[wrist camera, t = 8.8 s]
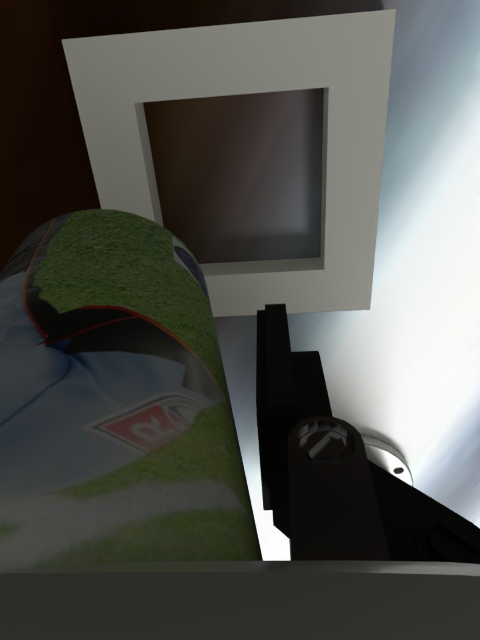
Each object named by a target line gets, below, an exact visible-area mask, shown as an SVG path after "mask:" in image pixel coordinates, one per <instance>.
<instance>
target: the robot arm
mask: <svg viewBox="0 0 480 640" xmlns="http://www.w3.org/2000/svg"><path fill="white" fill-rule="evenodd" d="M256 408H257V426H258V440H259V454H260V467H261V481H262V495H263V509H264V510H273V525H274V526H275V527H276V528H278V529H279V530H280V531H281V532H282V533H283V534H284V535H286V536H287V537H288V538H289V543H290V557H291V561H138V562H109V563H99V564H89V565H76V566H63V567H50V568H38V569H23V570H6V571H0V640H480V528H478V527H477V526H476V525H474V524H473V523H472V522H470V521H468V520H467V519H465V518H463V517H462V516H460V515H458V514H457V513H455V512H454V511H452V510H450V509H449V508H447V507H445V506H444V505H442V504H440V503H439V502H437V501H435V500H434V499H432V498H431V497H429V496H427V495H426V494H424V493H422V492H421V491H419V490H417V489H416V488H414V487H413V479H412V475H411V472H410V469H409V467H408V465H407V462H406V460H405V459H404V458H403V457H402V455H401V454H400V453H399V452H398V451H397V450H395V449H394V448H393V447H392V446H390V445H388V444H386V443H384V442H382V441H380V440H378V439H374V438H371V437H368V436H362V435H360V433H359V432H358V431H357V430H356V429H355V428H354V427H353V426H352V425H351V424H349V423H347V422H346V421H344V420H341V419H338V418H335V417H333V416H332V412H331V407H330V402H329V397H328V393H327V388H326V383H325V378H324V374H323V369H322V364H321V359H320V355H319V352H318V351H301V352H291V347H290V338H289V330H288V321H287V312H286V304H265V310H257V363H256Z"/></svg>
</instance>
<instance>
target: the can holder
mask: <svg viewBox="0 0 480 640" xmlns="http://www.w3.org/2000/svg"><path fill="white" fill-rule="evenodd" d="M395 14H396V9H391V10H380V11H369V12H358V13H347V14H336V15H325V16H315V17H304V18H293V19H282V20H271V21H260V22H249V23H238V24H227V25H216V26H205V27H194V28H183V29H173V30H162V31H151V32H140V33H129V34H118V35H107V36H96V37H85V38H74V39H63V40H62V44H63V48H64V52H65V56H66V61H67V65H68V69H69V73H70V78H71V82H72V86H73V90H74V95H75V99H76V103H77V107H78V111H79V116H80V120H81V124H82V128H83V133H84V137H85V141H86V145H87V150H88V154H89V158H90V162H91V167H92V171H93V175H94V179H95V184H96V188H97V192H98V196H99V201H100V205H101V209H109V210H119V211H123V212H128V213H133V214H136V215H139V216H141V217H144V218H147V219H149V220H152V221H154V222H155V223H157V224H159V225H161V226H162V227H164V226H163V220H162V214H161V208H160V202H159V196H158V190H157V184H156V178H155V172H154V166H153V160H152V154H151V148H150V142H149V136H148V130H147V124H146V118H145V112H144V106H143V102H152V101H164V100H177V99H189V98H201V97H214V96H226V95H238V94H251V93H263V92H275V91H288V90H300V89H313V88H324V93H323V144H322V195H321V245H320V257H314V258H296V259H278V260H260V261H242V262H224V263H206V264H199V266H200V267H201V269H202V272H203V275H204V278H205V281H206V285H207V290H208V294H209V299H210V304H211V309H212V314H213V317H225V316H246V315H257V310H265V304H286V312H287V314H288V313H309V312H330V311H351V310H370V303H371V292H372V280H373V269H374V257H375V246H376V234H377V222H378V211H379V199H380V188H381V176H382V165H383V153H384V142H385V130H386V118H387V107H388V95H389V84H390V72H391V61H392V49H393V37H394V26H395Z"/></svg>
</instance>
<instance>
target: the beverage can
mask: <svg viewBox="0 0 480 640" xmlns="http://www.w3.org/2000/svg"><path fill="white" fill-rule="evenodd" d="M138 561H263V559H262V554H261V549H260V544H259V539H258V534H257V530H256V525H255V520H254V515H253V510H252V505H251V500H250V495H249V490H248V485H247V481H246V476H245V471H244V466H243V461H242V456H241V451H240V446H239V441H238V436H237V432H236V427H235V422H234V417H233V412H232V407H231V402H230V397H229V392H228V388H227V383H226V378H225V373H224V368H223V363H222V358H221V353H220V348H219V343H218V339H217V334H216V329H215V324H214V319H213V314H212V309H211V304H210V299H209V294H208V290H207V285H206V281H205V278H204V275H203V272H202V269H201V267H200V266H199V264H198V262H197V260H196V259H195V257H194V255H193V254H192V253H191V251H190V250H189V249H188V248H187V247H186V246H185V244H184V243H183V242H182V241H181V240H180V239H178V238H177V237H176V236H175V235H174V234H173V233H171V232H170V231H169V230H167V229H166V228H164V227H162V226H161V225H159V224H157V223H155V222H154V221H152V220H149V219H147V218H144V217H141V216H139V215H136V214H133V213H128V212H123V211H119V210H109V209H90V210H82V211H75V212H72V213H68V214H65V215H62V216H58V217H56V218H54V219H52V220H50V221H48V222H46V223H44V224H42V225H41V226H39V227H38V228H37V229H36V230H34V231H33V232H32V233H31V234H29V235H28V236H27V237H26V238H25V239H24V241H23V242H22V243H21V244H20V245H19V247H18V248H17V249H16V250H15V252H14V253H13V255H12V256H11V258H10V259H9V261H8V262H7V264H6V265H5V267H4V268H3V270H2V271H1V273H0V571H6V570H23V569H38V568H50V567H63V566H76V565H89V564H99V563H109V562H138Z"/></svg>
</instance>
